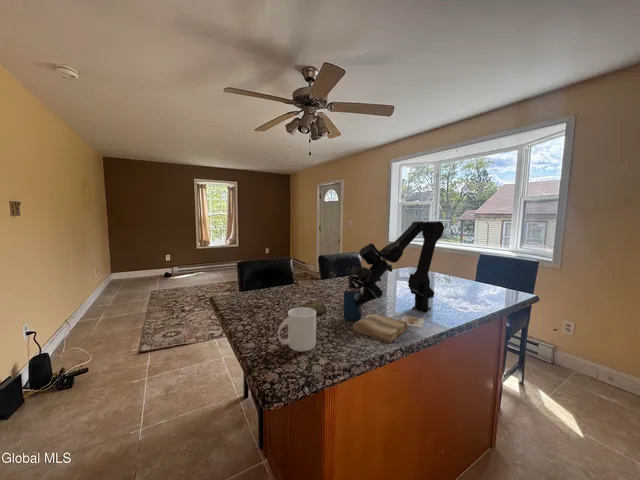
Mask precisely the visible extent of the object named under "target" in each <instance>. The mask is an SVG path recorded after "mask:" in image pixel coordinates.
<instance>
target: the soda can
mask: <svg viewBox="0 0 640 480" xmlns="http://www.w3.org/2000/svg"><path fill="white" fill-rule="evenodd" d="M361 295H362V292H361V288H360V289H359V288H348V287H347V288H345V290H344V293H343V318H344V320H345V321H346V322H348V323H356V322H357V321H359V320H361V319H362V307H361V305H359V306H356V305H355V304H356V302H357V300H358V299H359V298H360V296H361Z"/></svg>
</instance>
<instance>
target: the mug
mask: <svg viewBox="0 0 640 480" xmlns="http://www.w3.org/2000/svg"><path fill="white" fill-rule="evenodd" d="M285 326H287V338H286V339H283V338H282V337H281V335H280V332H281V330H282V328H283V327H285ZM277 331H278V332H277V334H278V335H277V337H278V339H279V341H280V343H281V344H283V345H285V346H286V345H287V346H288V347H289V348H290V349H291V350H292V351H294V352H300V353H301V352H309V351H312V350H313V349H314V348H315V347H316V344H317V317H316V311H315V310H314V309H312V308H306V307H299V308H297V307H295V308H291V309H289V310H288V311H287V318H285V319H284V320H283V321H282V322H281V323H280V325H279V327H278V329H277Z"/></svg>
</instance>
